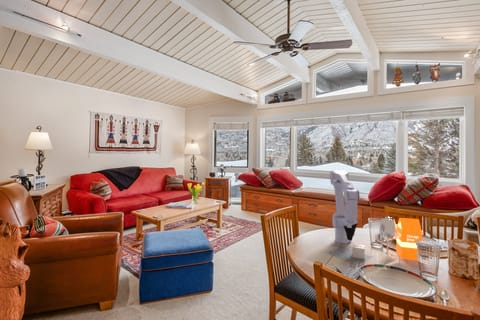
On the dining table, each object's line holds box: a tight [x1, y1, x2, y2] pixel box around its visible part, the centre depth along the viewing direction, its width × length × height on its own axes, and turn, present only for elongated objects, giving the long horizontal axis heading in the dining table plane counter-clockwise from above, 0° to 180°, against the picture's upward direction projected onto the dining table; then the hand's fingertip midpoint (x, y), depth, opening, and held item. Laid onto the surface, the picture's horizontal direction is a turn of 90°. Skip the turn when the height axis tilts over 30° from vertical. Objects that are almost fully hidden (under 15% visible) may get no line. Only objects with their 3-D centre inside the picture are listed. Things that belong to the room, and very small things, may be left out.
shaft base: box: [325, 246, 374, 265], centre depth 123 cm, size 16×16×4 cm
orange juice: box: [396, 217, 423, 261], centre depth 124 cm, size 8×9×20 cm
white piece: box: [351, 243, 366, 259], centre depth 121 cm, size 5×5×5 cm
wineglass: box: [378, 216, 397, 258], centre depth 124 cm, size 8×8×20 cm
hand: (350, 237), depth 126 cm, fingers open, 7 cm apart
